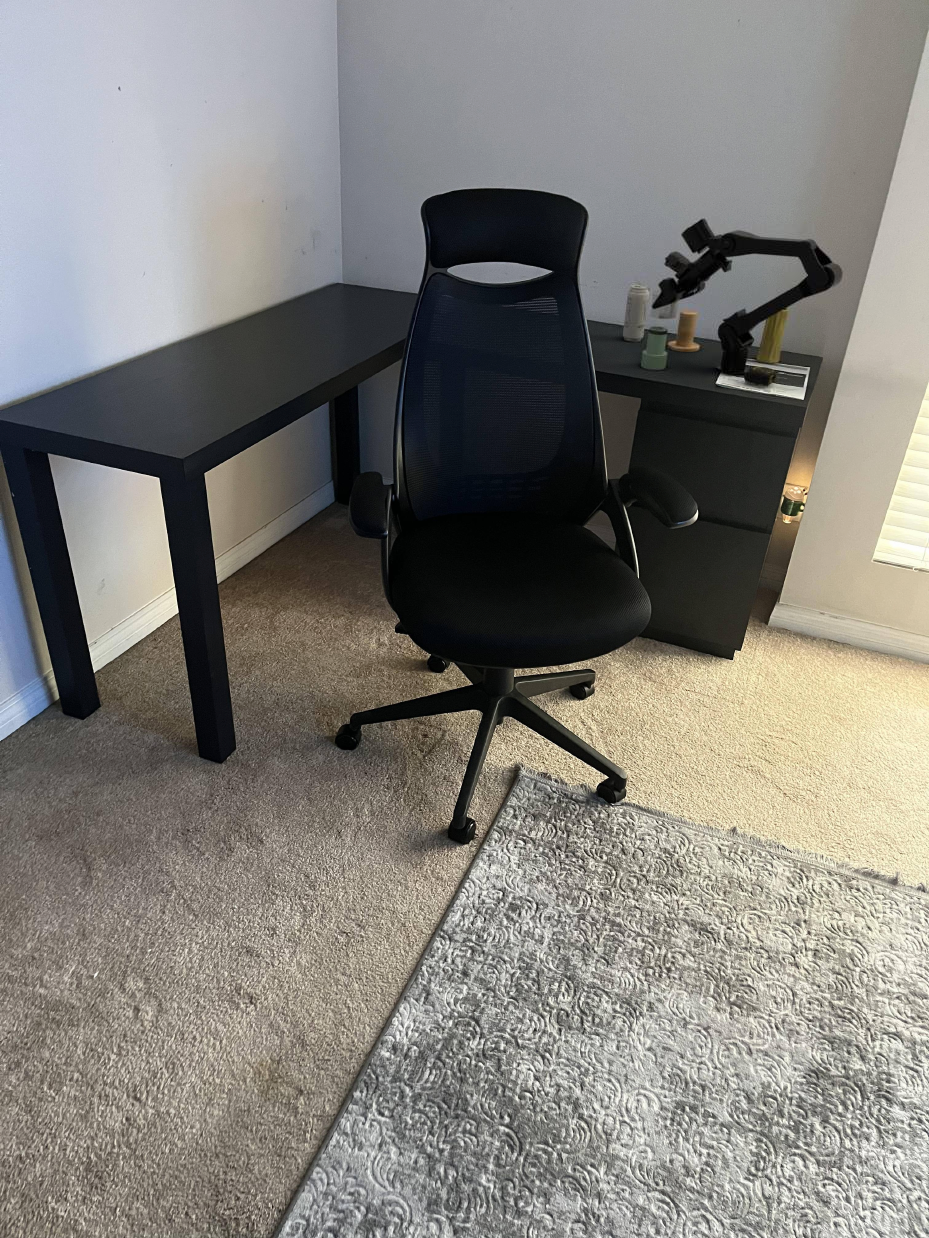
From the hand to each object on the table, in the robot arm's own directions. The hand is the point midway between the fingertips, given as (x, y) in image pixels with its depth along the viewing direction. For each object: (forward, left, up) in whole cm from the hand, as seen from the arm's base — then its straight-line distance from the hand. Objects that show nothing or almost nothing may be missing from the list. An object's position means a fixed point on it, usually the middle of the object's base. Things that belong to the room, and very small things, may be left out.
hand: (659, 305), depth 241 cm
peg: (+4, -13, -13) cm, 19 cm away
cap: (-1, -1, -2) cm, 3 cm away
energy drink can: (+16, -3, -14) cm, 21 cm away
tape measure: (-32, -13, -14) cm, 37 cm away
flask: (-10, +6, -13) cm, 18 cm away
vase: (-14, -29, -14) cm, 35 cm away
